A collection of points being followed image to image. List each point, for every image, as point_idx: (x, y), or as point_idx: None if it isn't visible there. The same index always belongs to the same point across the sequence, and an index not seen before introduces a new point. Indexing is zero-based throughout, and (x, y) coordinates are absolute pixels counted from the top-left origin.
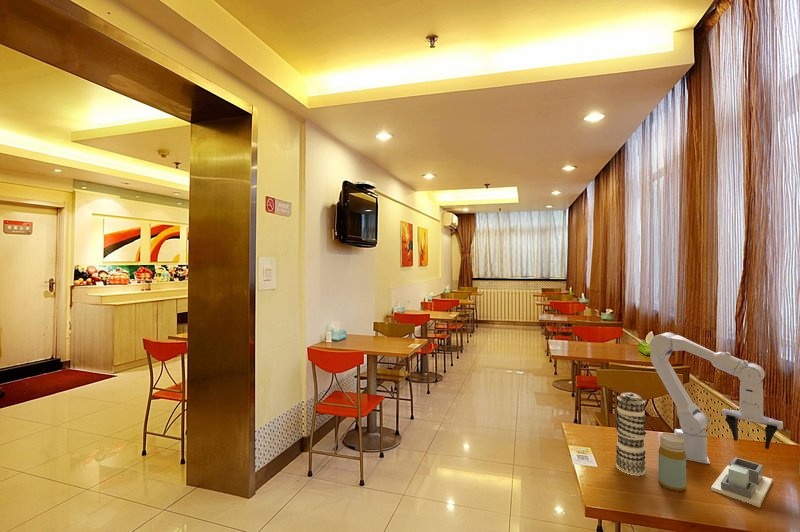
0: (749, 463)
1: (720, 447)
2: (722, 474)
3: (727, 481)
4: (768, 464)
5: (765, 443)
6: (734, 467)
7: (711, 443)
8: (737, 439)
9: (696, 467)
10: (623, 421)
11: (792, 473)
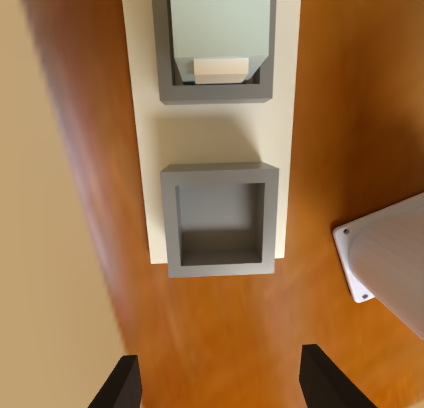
0: (215, 261)
1: None
2: (285, 150)
3: None
4: (193, 376)
5: (119, 393)
6: (245, 6)
7: None
8: (300, 370)
9: (368, 163)
10: None
11: None
